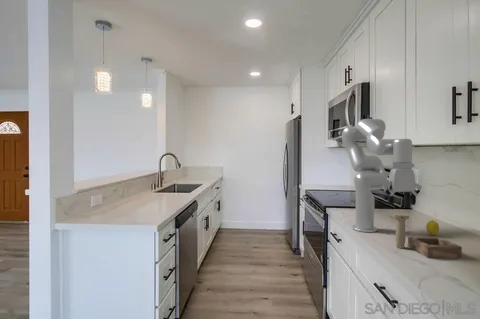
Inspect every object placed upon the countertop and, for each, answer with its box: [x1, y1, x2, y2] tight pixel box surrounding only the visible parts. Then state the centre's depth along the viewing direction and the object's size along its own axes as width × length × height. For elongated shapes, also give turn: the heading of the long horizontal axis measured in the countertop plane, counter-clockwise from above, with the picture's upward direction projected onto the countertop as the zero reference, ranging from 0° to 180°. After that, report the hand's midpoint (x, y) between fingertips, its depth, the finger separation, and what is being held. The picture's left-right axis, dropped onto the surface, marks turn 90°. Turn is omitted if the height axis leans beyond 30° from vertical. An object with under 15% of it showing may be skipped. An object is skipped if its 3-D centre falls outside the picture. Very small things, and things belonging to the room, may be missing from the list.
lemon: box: [425, 219, 440, 237], centre depth 153 cm, size 6×6×8 cm
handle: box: [392, 212, 410, 249], centre depth 134 cm, size 5×6×15 cm
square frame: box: [407, 236, 463, 259], centre depth 128 cm, size 14×14×4 cm
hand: (401, 204), depth 133 cm, fingers open, 9 cm apart
